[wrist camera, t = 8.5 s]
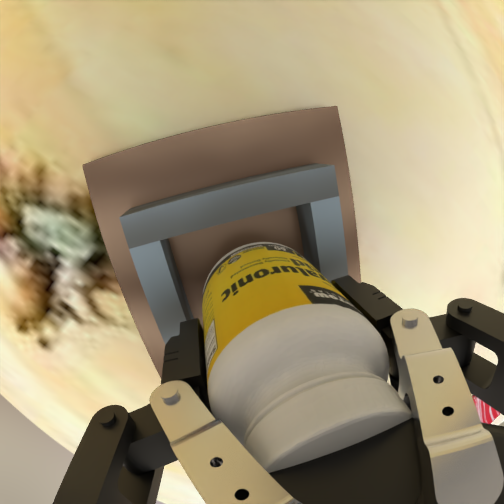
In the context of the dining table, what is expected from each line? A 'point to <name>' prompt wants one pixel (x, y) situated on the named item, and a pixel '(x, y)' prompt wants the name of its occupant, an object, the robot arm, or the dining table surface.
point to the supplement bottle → (292, 359)
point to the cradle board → (221, 209)
